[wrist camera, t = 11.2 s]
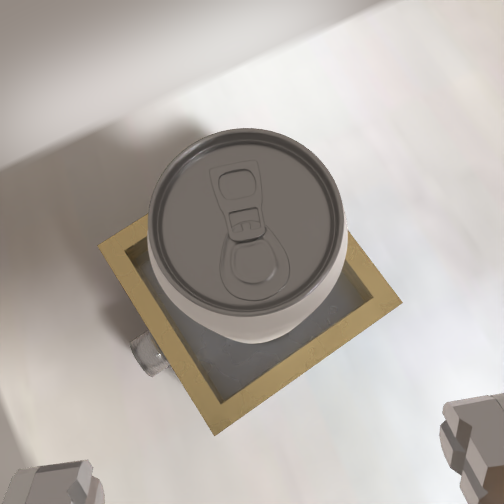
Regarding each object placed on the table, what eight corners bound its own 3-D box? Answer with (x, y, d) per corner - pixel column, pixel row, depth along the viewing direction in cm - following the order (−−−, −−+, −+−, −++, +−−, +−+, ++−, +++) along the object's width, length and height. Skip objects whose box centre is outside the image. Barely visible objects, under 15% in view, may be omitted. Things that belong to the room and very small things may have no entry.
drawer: (271, 181, 31) (274, 133, 24) (369, 315, 29) (402, 302, 22) (108, 287, 30) (63, 267, 23) (198, 435, 28) (177, 462, 21)
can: (205, 355, 24) (150, 355, 12) (184, 238, 25) (117, 137, 14) (325, 329, 24) (386, 305, 12) (298, 215, 25) (328, 95, 14)
